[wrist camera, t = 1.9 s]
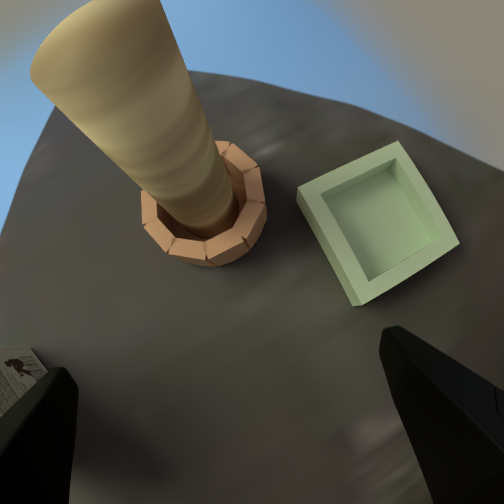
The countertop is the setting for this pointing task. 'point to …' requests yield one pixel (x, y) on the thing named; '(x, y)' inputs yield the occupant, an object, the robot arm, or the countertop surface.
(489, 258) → the countertop surface
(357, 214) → the tray
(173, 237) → the holder
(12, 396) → the coffee box
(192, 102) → the dowel
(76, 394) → the robot arm
